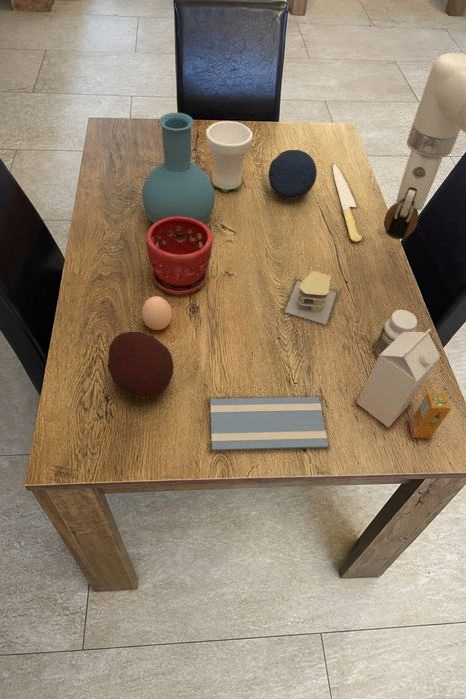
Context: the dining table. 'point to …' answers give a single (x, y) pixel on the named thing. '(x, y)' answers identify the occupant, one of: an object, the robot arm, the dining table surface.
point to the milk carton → (398, 376)
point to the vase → (177, 177)
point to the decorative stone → (292, 174)
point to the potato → (140, 364)
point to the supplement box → (429, 415)
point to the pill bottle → (395, 329)
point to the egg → (156, 313)
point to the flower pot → (179, 254)
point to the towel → (267, 423)
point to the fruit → (392, 212)
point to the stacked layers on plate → (312, 298)
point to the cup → (228, 152)
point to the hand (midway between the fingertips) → (399, 224)
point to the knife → (346, 203)
